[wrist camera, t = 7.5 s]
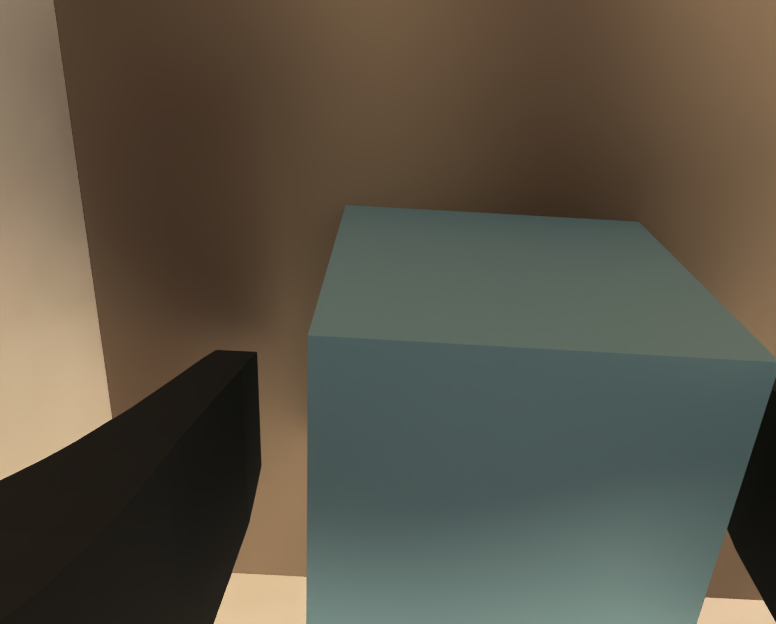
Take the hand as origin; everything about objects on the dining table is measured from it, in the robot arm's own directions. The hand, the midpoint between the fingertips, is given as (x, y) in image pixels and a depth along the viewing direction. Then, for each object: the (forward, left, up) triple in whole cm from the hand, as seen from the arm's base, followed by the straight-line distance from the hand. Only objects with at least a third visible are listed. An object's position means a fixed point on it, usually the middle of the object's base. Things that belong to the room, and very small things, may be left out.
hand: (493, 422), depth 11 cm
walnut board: (0, 0, -4) cm, 4 cm away
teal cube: (0, 0, -3) cm, 3 cm away
